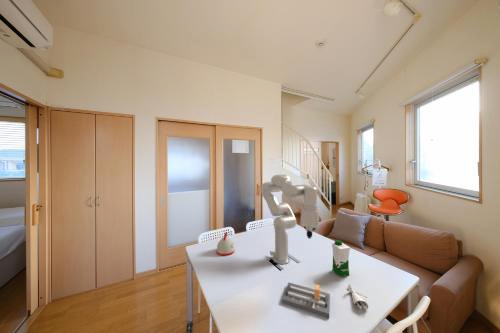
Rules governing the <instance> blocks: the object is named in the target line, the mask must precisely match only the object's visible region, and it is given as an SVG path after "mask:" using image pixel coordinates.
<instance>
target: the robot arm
mask: <svg viewBox="0 0 500 333" xmlns="http://www.w3.org/2000/svg"><path fill="white" fill-rule="evenodd" d="M317 188H318V187H315V186H310V185H307V184H293V183H292V180H291V178H290V176H289V175H287V174H275V175H273V176H272V177H271V179H270V181H267V182H263V183H262V184H261V186H260V193H261V195H262V198H264V200H265V202H266V205H267V207H268V209H269V212H270V214H271V215H272V216H273V217H276V218H274V220H273V227H274V229H273V230H274V251H272V250H270V251H269V254H270V256H273V257H272V260H273V262H275V263H276V264H279V265H286V264H288V263H290V262H291V256H289V235H288V232H287V231H286V230H289V229H294V228H295V227H296V226H297V218H296V217H295V215H294V213H293V210H292V209H291V207H290V205H289V204H288V203H287V202H279V201H278V198H277V197H276V196H275V194H273V193H278V192H281V191H282V192H283V193H284V194H285V195H286V196H288V197H290V198H302V197H303V203H302V204H301V205H300V206H301V208H302V209H301V214H300V226H299V227H301V228H303V229H304V230H305V231H306V237H307V239H311V238H312V237H313V232H314V231H315V230H317V231H318V230H320V219H319V218H320V217H319V211H318V207H317V206H318V189H317Z"/></svg>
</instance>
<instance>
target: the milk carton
mask: <svg viewBox="0 0 500 333" xmlns="http://www.w3.org/2000/svg"><path fill="white" fill-rule="evenodd" d="M331 246H332V247H331V248H332V272H333V273H335V274H336V276H338V277H340V278H343V277H348V276H350V269H349V268H350V267H349V264H350V263H349V259H350V258H349V256H350V251H351V247H350V246H348V245H347V244H345V243H343V241H342V240H341V239H335V240H334V243H331Z"/></svg>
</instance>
